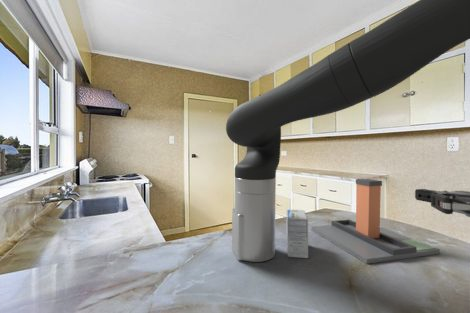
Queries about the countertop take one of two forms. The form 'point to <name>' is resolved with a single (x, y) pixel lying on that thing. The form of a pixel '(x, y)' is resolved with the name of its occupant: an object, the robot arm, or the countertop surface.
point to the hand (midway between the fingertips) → (417, 194)
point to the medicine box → (297, 234)
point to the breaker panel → (373, 243)
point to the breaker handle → (368, 207)
